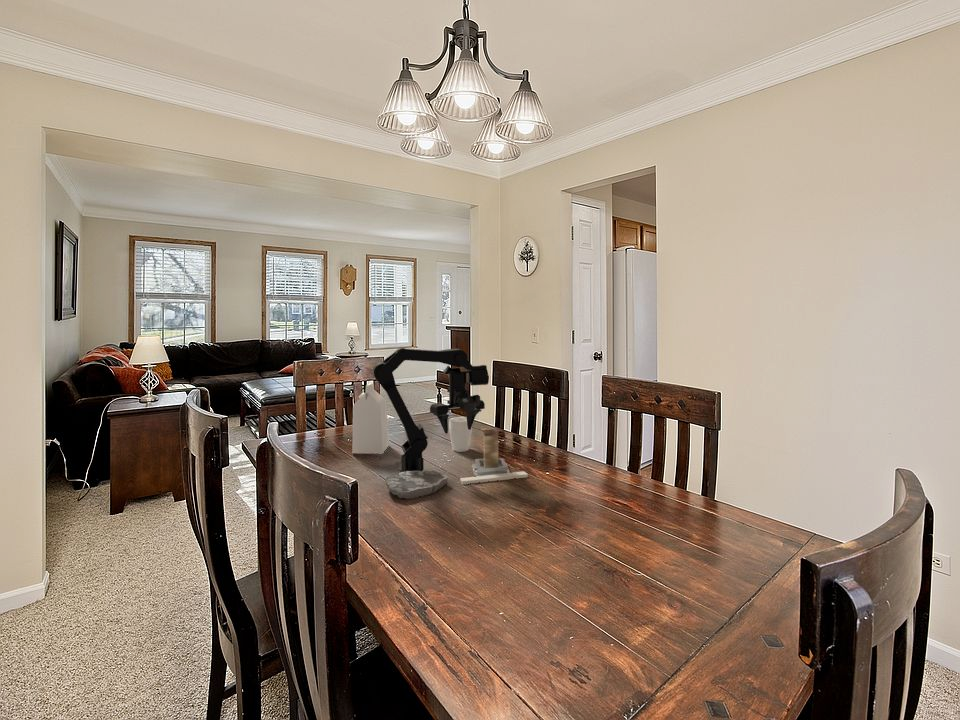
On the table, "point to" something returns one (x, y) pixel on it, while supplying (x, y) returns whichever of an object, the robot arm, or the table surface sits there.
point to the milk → (370, 423)
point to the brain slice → (415, 483)
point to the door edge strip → (493, 477)
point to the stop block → (490, 448)
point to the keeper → (489, 468)
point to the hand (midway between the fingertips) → (458, 431)
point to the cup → (459, 434)
